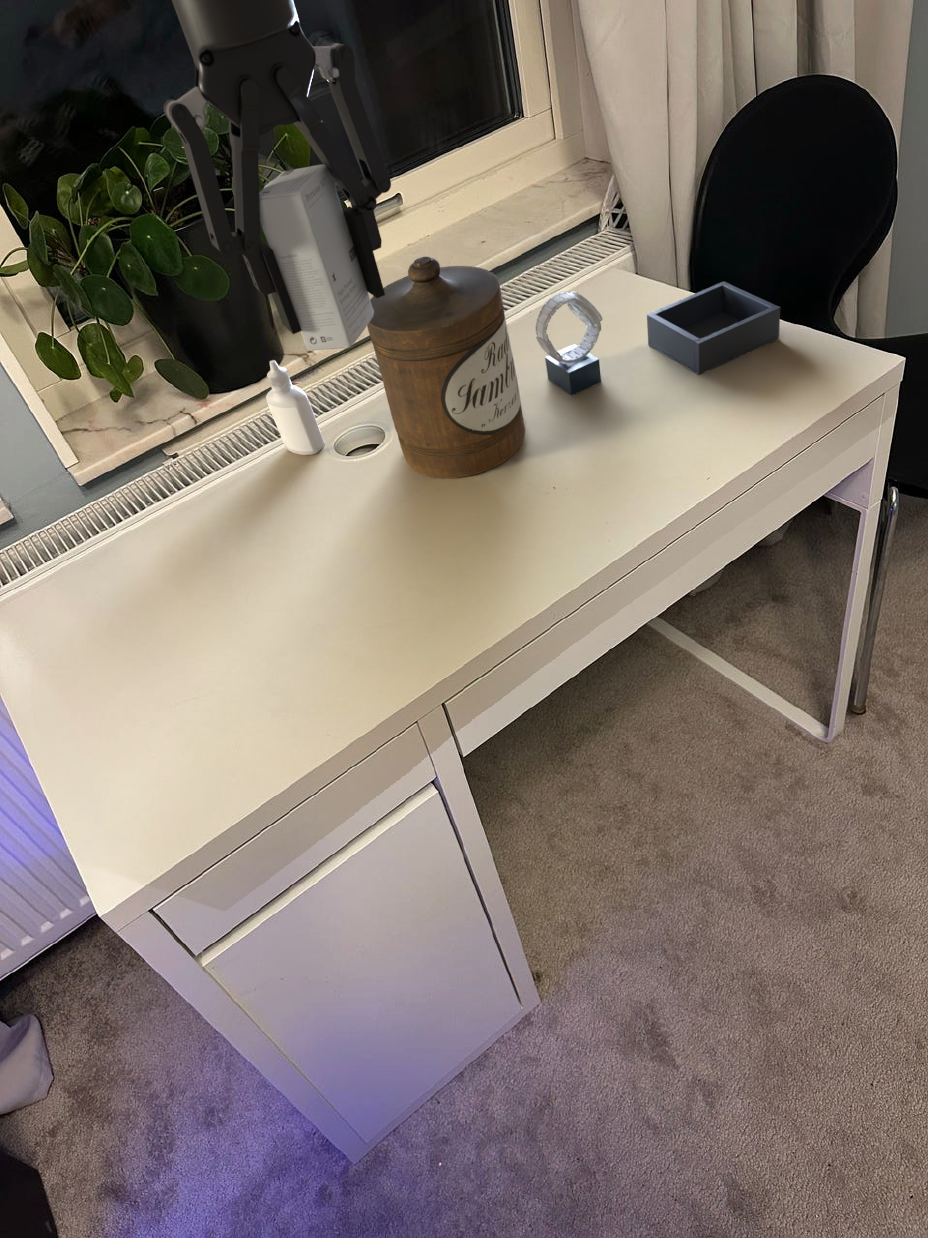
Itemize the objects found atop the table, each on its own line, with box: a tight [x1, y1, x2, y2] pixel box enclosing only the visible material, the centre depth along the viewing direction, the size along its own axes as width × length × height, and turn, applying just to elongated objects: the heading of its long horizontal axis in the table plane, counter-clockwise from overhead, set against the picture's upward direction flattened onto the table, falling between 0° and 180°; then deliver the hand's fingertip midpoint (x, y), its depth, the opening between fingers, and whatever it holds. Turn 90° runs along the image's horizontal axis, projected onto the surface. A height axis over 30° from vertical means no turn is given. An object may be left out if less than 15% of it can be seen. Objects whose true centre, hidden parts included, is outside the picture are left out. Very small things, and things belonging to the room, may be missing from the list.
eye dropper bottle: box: [265, 359, 326, 456], centre depth 103 cm, size 4×6×12 cm
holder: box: [646, 280, 781, 376], centre depth 104 cm, size 11×12×4 cm
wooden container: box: [366, 256, 526, 479], centre depth 93 cm, size 15×15×22 cm
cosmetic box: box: [259, 163, 374, 351], centre depth 67 cm, size 6×4×12 cm
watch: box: [535, 290, 603, 396], centre depth 102 cm, size 6×8×11 cm
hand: (333, 308), depth 69 cm, fingers closed on cosmetic box, 7 cm apart
